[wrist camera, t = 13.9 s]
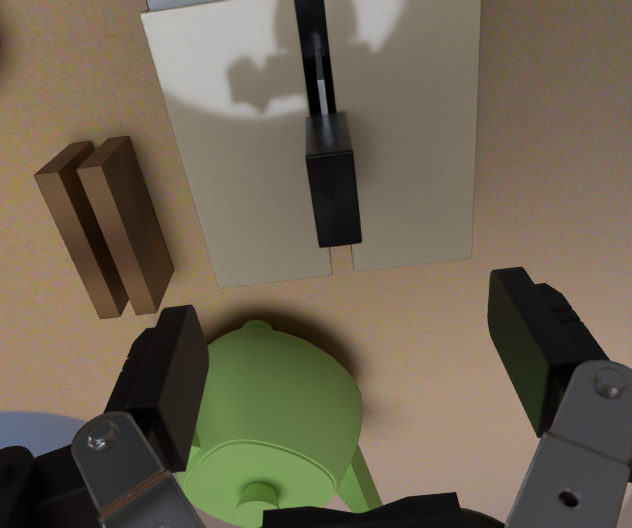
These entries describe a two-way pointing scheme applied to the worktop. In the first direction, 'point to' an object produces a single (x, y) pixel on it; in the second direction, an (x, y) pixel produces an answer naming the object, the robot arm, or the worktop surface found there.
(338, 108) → the cake
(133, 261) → the knife block
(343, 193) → the knife
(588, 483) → the robot arm
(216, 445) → the teapot
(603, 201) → the worktop surface
